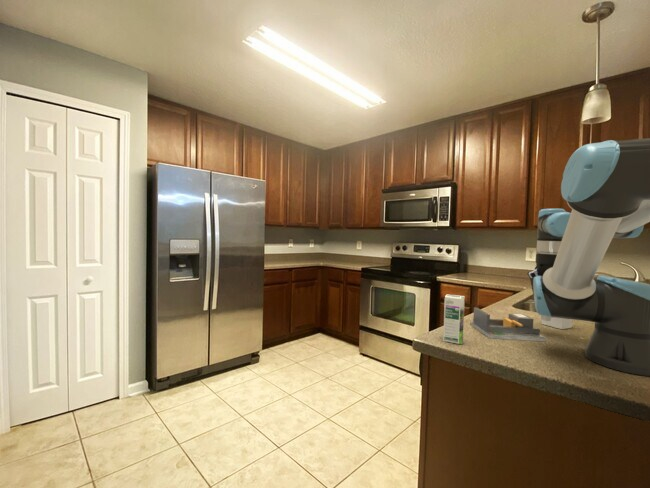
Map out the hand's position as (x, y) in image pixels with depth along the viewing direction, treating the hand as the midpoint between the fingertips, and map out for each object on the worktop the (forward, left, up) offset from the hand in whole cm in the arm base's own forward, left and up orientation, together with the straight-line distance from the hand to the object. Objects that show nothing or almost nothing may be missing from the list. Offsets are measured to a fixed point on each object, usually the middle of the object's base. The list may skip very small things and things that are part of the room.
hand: (545, 319), depth 103 cm
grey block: (0, +9, -4) cm, 9 cm away
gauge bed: (0, +14, -5) cm, 14 cm away
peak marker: (-3, +12, -4) cm, 13 cm away
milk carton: (+11, -11, -5) cm, 17 cm away
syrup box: (-12, +36, -5) cm, 38 cm away
